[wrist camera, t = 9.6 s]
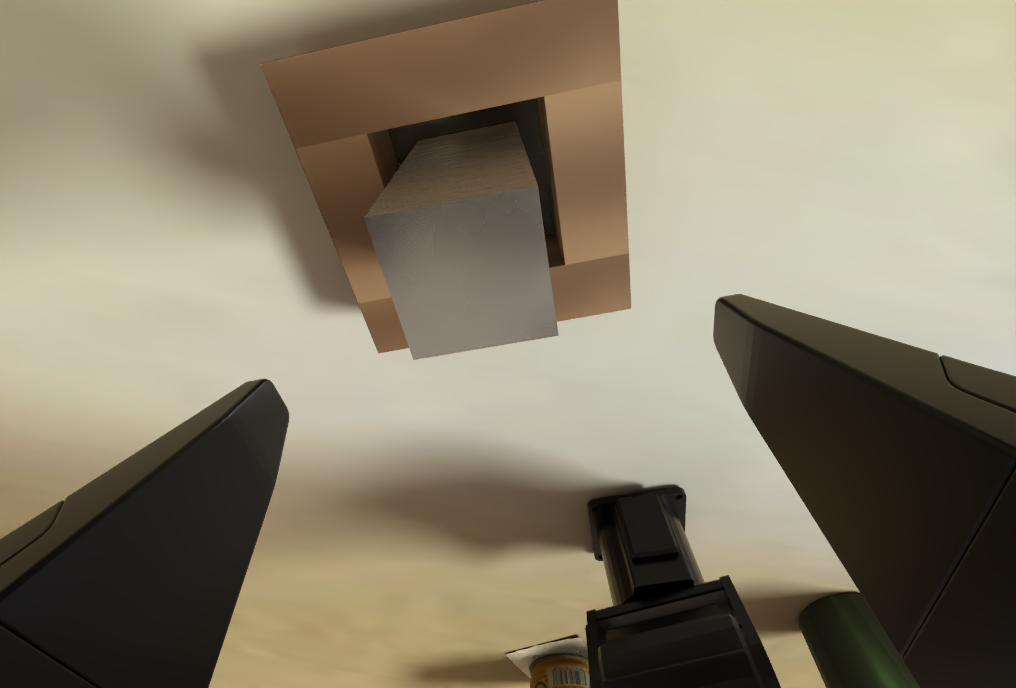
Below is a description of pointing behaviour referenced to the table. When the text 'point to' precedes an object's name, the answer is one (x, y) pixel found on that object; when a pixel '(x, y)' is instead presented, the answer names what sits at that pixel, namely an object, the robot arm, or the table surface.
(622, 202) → the block
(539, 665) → the condiment
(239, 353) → the table surface
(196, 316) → the table surface
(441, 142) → the grey long rectangular block
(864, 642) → the potion bottle
